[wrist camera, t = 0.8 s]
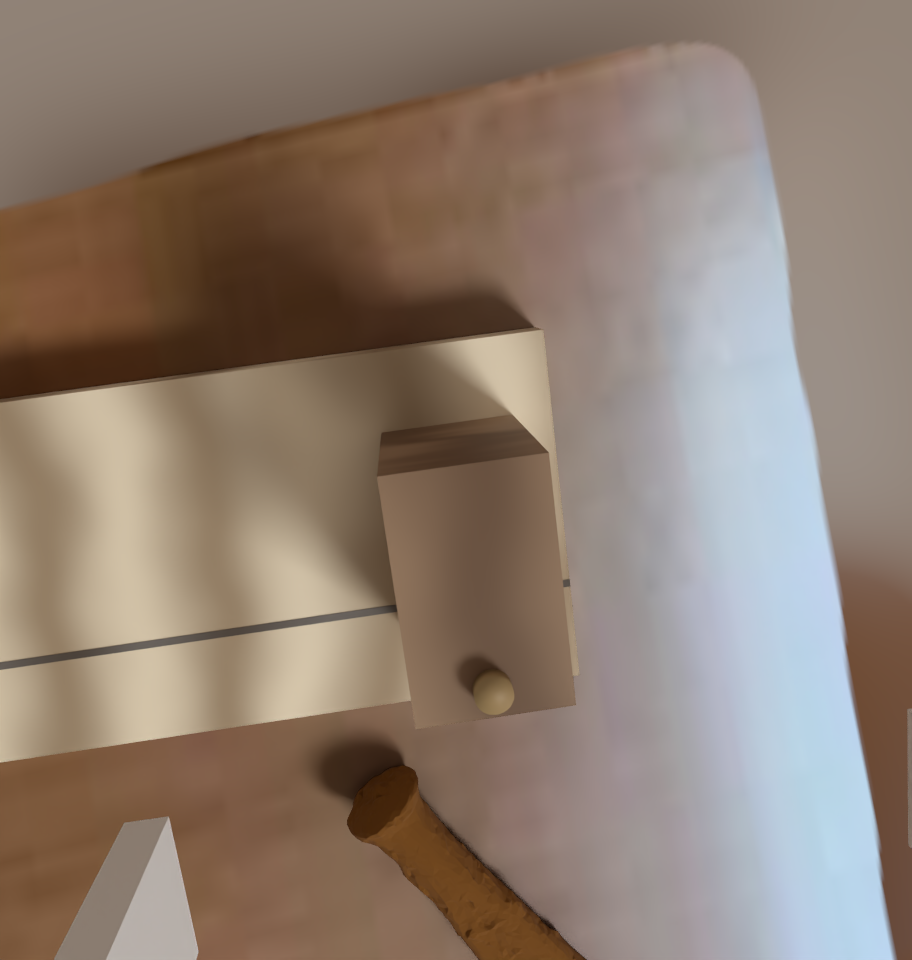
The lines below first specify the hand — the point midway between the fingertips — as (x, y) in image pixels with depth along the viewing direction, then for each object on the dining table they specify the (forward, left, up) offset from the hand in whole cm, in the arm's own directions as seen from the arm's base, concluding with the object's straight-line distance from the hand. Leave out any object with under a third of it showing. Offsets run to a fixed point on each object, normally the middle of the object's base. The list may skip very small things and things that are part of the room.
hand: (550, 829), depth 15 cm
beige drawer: (0, 0, -19) cm, 19 cm away
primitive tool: (0, -19, -22) cm, 29 cm away
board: (-10, 0, -21) cm, 23 cm away
